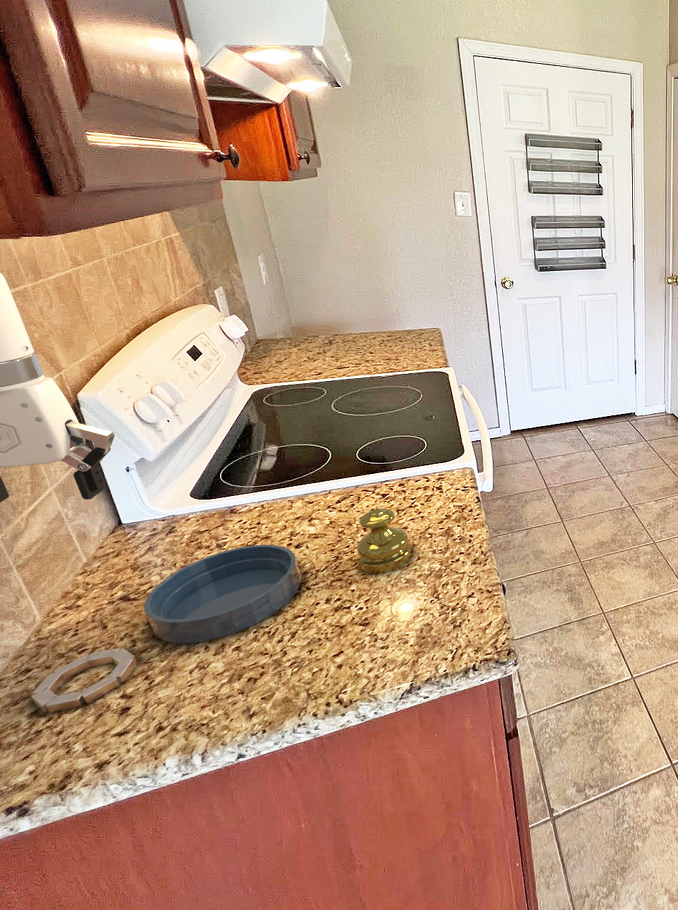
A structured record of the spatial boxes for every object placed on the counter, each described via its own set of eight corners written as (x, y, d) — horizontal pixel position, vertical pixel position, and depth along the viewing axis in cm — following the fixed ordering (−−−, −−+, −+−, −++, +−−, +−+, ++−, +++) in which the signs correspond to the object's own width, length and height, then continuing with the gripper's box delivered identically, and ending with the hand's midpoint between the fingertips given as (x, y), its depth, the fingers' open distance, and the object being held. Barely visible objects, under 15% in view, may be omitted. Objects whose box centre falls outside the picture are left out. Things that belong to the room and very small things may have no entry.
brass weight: (372, 583, 91) (359, 530, 87) (354, 563, 95) (342, 512, 92) (419, 561, 96) (409, 511, 92) (401, 543, 101) (390, 494, 97)
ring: (20, 723, 67) (14, 712, 66) (69, 668, 74) (63, 657, 73) (112, 704, 69) (107, 693, 69) (150, 653, 77) (145, 642, 76)
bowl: (127, 661, 75) (115, 634, 74) (189, 579, 91) (181, 556, 89) (281, 631, 81) (272, 606, 79) (316, 559, 96) (309, 536, 94)
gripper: (-144, 388, 61) (-73, 524, 67) (64, 378, 66) (113, 505, 72) (-79, 367, 68) (-19, 492, 74) (106, 359, 73) (148, 477, 79)
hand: (46, 498), depth 73 cm, fingers open, 9 cm apart
